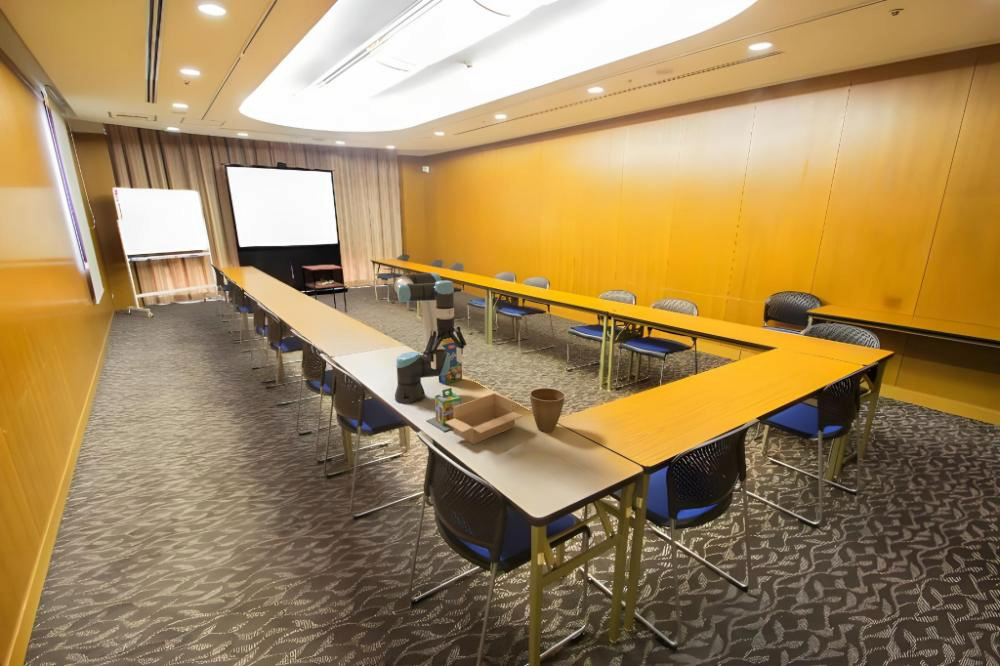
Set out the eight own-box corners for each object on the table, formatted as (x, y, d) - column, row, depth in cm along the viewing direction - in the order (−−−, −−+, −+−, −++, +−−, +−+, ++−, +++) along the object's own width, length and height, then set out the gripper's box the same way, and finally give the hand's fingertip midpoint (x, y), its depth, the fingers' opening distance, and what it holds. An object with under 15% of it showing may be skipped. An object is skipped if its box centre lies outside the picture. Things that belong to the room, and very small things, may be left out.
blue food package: (462, 380, 249) (461, 337, 243) (445, 385, 241) (444, 341, 235) (455, 377, 254) (454, 335, 248) (438, 382, 245) (437, 339, 239)
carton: (444, 436, 183) (443, 410, 180) (494, 417, 201) (494, 393, 198) (471, 452, 170) (470, 424, 167) (522, 430, 188) (522, 404, 185)
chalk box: (444, 426, 190) (443, 395, 186) (434, 419, 197) (433, 388, 194) (462, 421, 195) (461, 390, 191) (453, 414, 202) (452, 384, 199)
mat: (426, 421, 197) (426, 420, 197) (451, 412, 206) (451, 411, 206) (444, 432, 187) (444, 430, 187) (470, 422, 196) (470, 421, 196)
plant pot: (560, 438, 181) (561, 402, 177) (525, 433, 185) (526, 398, 182) (566, 423, 195) (567, 389, 191) (533, 419, 199) (534, 386, 195)
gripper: (425, 323, 174) (427, 373, 179) (473, 314, 190) (474, 361, 195) (415, 320, 179) (417, 369, 185) (463, 312, 196) (464, 357, 201)
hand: (446, 365), depth 190 cm, fingers open, 13 cm apart
